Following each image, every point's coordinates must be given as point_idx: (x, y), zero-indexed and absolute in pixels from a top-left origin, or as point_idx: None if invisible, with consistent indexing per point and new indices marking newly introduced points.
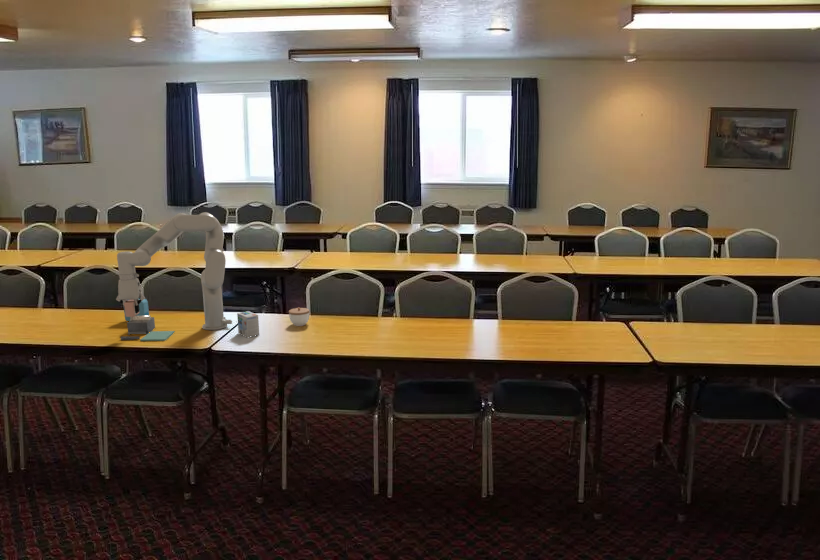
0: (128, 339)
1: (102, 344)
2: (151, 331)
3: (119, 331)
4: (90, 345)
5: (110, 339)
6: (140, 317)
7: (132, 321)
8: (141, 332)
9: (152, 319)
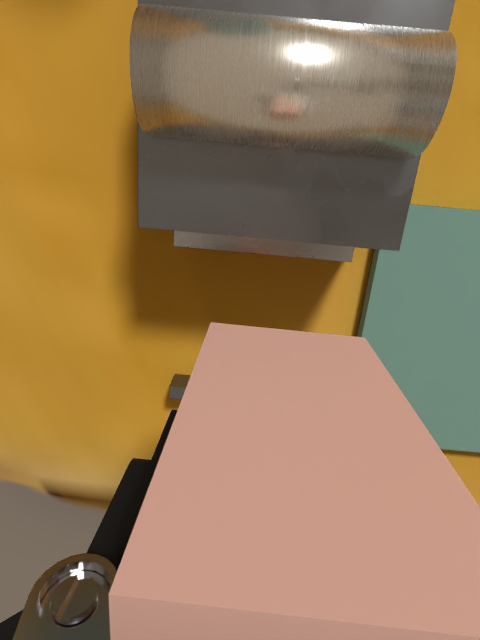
0: None
1: (82, 464)
2: None
3: (41, 98)
4: (9, 473)
5: (82, 357)
6: (300, 127)
7: (190, 172)
8: (307, 257)
9: (444, 19)
